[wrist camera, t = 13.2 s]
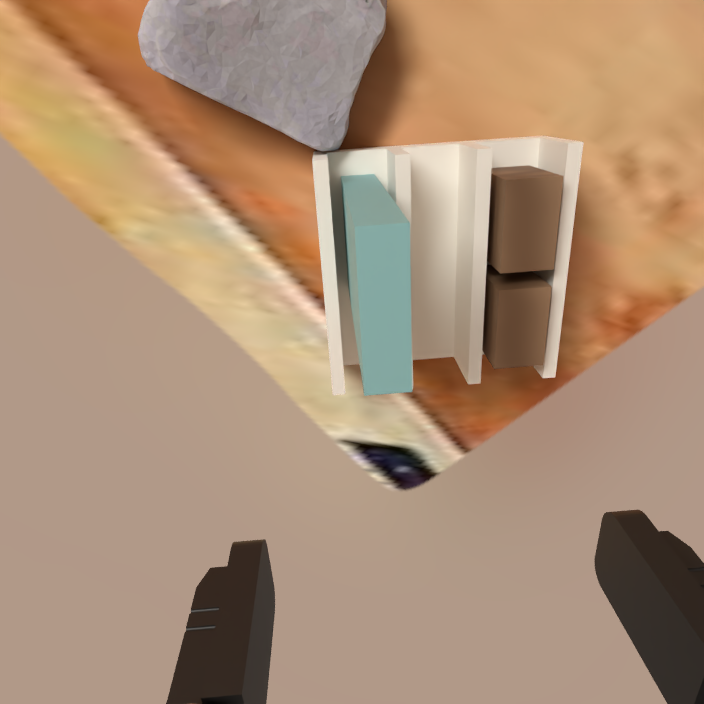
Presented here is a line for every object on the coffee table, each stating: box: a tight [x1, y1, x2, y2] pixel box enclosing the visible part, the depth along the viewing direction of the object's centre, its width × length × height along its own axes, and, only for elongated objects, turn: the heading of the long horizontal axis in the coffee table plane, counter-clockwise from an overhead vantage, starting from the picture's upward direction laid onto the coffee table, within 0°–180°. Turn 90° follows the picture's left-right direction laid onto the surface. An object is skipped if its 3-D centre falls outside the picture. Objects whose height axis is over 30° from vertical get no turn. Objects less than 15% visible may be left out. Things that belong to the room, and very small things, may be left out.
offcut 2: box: [482, 265, 552, 369], centre depth 33 cm, size 3×5×5 cm, turn 3°
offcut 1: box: [487, 165, 564, 274], centre depth 31 cm, size 3×5×5 cm, turn 3°
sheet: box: [341, 174, 412, 396], centre depth 27 cm, size 2×7×14 cm, turn 4°
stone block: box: [138, 0, 387, 151], centre depth 28 cm, size 12×5×10 cm
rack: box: [312, 136, 583, 395], centre depth 33 cm, size 14×14×6 cm
